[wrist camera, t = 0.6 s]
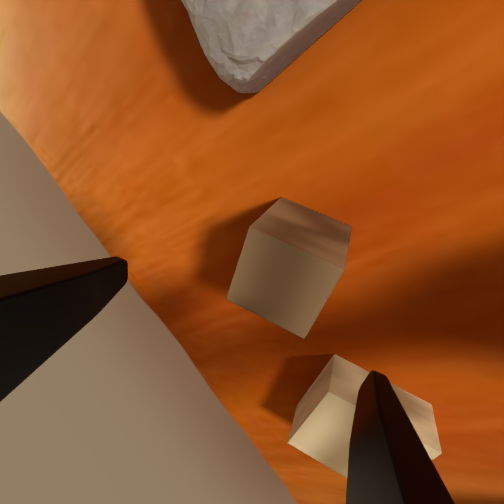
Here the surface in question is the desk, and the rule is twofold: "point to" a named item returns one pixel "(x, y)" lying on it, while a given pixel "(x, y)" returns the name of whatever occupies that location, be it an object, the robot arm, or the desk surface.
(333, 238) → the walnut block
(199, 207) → the desk surface
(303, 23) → the stone block
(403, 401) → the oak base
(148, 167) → the desk surface
